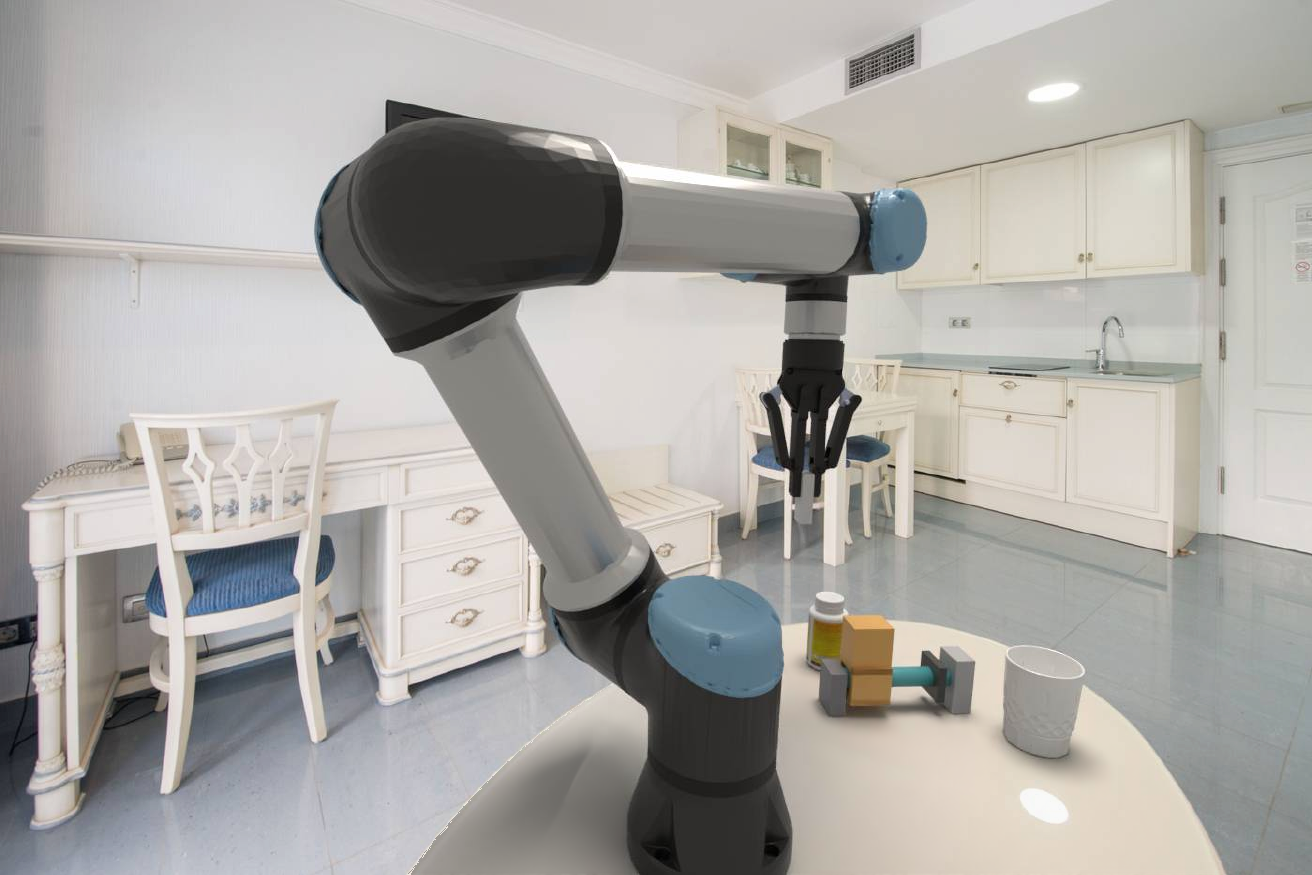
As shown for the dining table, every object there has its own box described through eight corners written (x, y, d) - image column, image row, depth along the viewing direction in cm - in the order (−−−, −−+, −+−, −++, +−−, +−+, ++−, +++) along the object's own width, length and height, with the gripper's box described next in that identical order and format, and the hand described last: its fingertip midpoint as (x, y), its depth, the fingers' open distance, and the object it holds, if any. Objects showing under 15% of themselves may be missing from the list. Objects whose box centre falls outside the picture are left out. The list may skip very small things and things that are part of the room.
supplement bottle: (853, 672, 90) (858, 603, 89) (816, 675, 89) (820, 605, 88) (834, 653, 96) (838, 588, 94) (799, 656, 94) (803, 590, 93)
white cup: (1087, 766, 71) (1098, 682, 69) (1009, 756, 72) (1019, 673, 71) (1058, 725, 78) (1067, 649, 77) (988, 717, 80) (996, 641, 78)
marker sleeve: (850, 705, 79) (856, 630, 77) (837, 685, 84) (841, 614, 82) (890, 705, 79) (896, 630, 78) (874, 684, 84) (879, 613, 82)
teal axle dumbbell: (829, 717, 79) (833, 664, 78) (817, 697, 83) (821, 646, 82) (971, 714, 80) (976, 662, 79) (952, 694, 85) (956, 645, 84)
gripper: (852, 339, 84) (840, 513, 88) (755, 336, 83) (746, 513, 86) (877, 339, 77) (862, 529, 80) (770, 336, 76) (760, 529, 79)
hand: (802, 521), depth 83 cm, fingers closed
